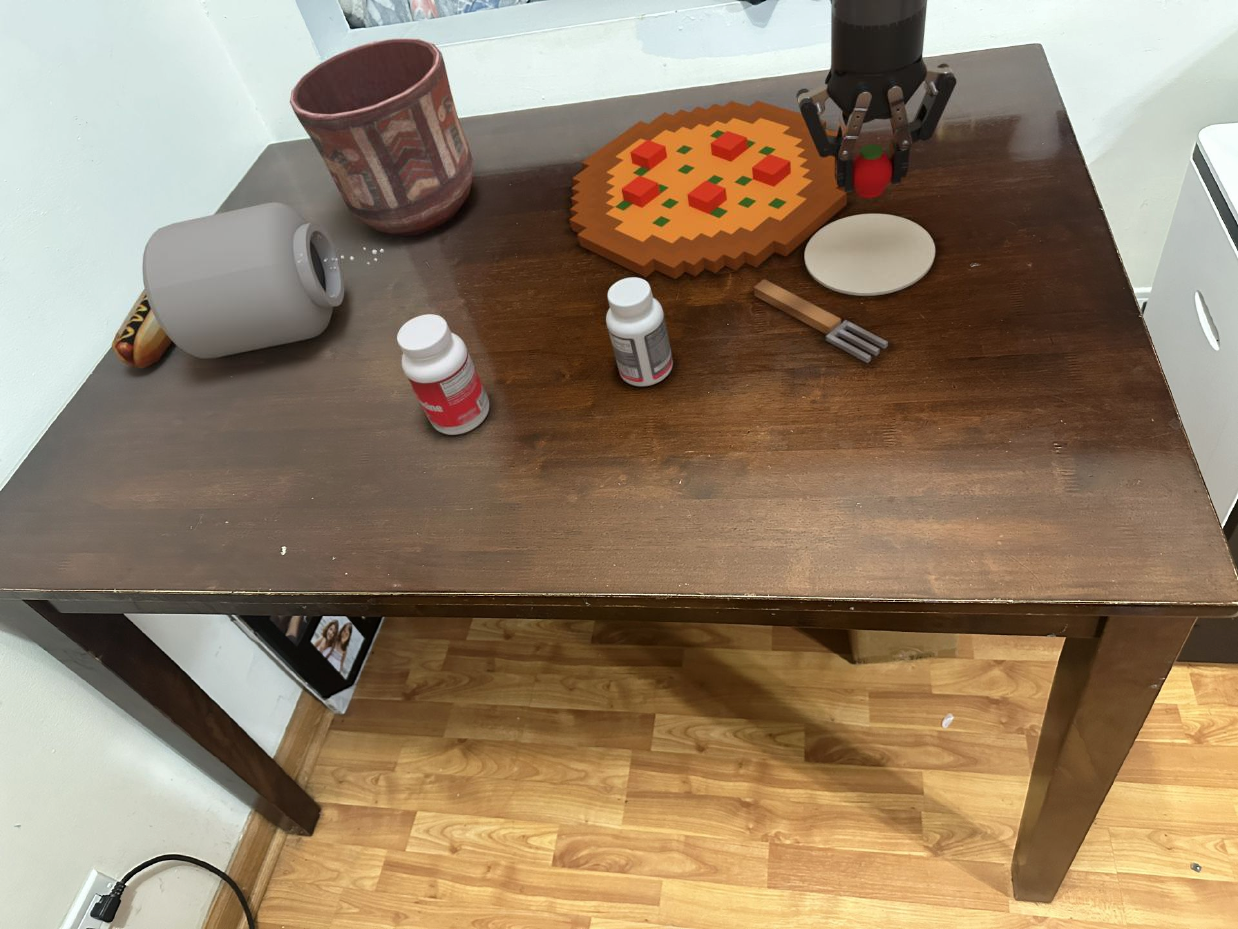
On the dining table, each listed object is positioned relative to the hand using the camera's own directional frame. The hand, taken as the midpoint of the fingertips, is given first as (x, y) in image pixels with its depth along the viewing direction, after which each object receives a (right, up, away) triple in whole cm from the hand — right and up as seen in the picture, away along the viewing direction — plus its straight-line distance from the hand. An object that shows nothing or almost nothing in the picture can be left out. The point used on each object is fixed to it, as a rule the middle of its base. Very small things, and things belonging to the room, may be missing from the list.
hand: (870, 183), depth 83 cm
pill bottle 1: (-40, -22, +3) cm, 46 cm away
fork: (-5, -13, +2) cm, 14 cm away
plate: (+2, -5, +6) cm, 9 cm away
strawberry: (0, 0, +1) cm, 1 cm away
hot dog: (-78, -12, +21) cm, 82 cm away
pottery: (-50, +6, +28) cm, 57 cm away
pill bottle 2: (-22, -18, +2) cm, 28 cm away
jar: (-60, -10, +18) cm, 63 cm away
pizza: (-14, +6, +19) cm, 25 cm away
